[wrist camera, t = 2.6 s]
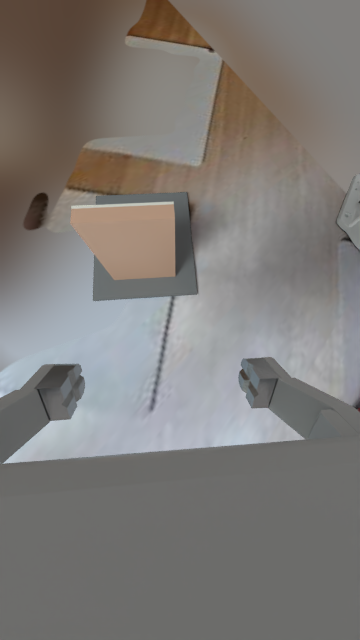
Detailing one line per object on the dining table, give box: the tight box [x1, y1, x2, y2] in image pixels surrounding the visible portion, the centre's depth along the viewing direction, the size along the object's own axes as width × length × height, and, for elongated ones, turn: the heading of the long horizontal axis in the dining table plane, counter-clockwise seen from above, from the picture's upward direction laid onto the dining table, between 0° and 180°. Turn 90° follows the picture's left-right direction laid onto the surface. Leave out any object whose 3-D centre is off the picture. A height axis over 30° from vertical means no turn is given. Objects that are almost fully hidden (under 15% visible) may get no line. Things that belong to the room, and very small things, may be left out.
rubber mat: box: [93, 192, 197, 301], centre depth 38 cm, size 24×20×1 cm
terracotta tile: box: [70, 201, 175, 280], centre depth 28 cm, size 2×12×15 cm, turn 94°
